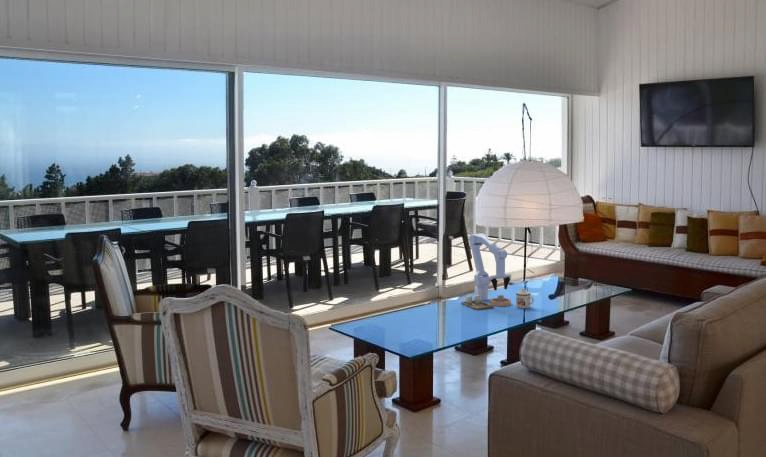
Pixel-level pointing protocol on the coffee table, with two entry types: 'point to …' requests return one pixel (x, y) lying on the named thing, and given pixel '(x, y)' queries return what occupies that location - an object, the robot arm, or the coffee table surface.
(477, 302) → the light stone
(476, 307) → the tray
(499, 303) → the bowl
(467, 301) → the light stone
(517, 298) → the teacup with lid
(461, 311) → the coffee table surface
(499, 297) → the grey rounded cylinder
